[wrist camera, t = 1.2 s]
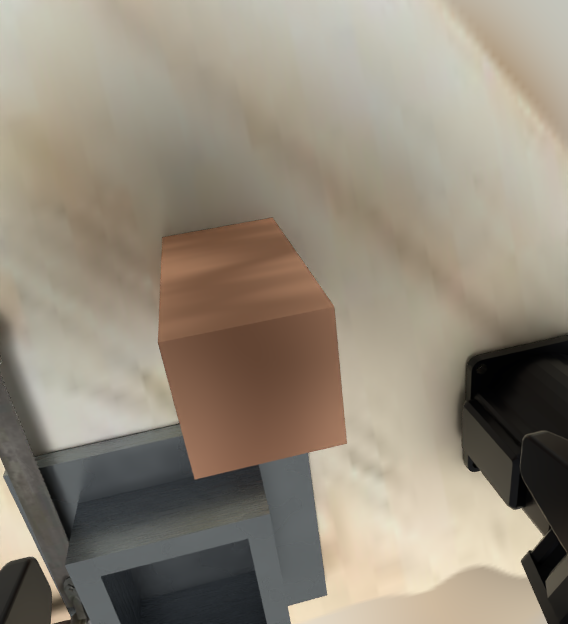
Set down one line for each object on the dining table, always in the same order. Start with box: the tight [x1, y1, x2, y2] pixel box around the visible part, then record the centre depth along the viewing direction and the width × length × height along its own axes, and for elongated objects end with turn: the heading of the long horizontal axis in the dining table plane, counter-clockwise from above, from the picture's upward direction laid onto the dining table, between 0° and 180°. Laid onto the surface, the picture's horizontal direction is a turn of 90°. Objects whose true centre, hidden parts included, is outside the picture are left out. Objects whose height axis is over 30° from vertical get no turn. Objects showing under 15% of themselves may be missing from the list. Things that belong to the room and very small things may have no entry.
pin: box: [158, 218, 347, 479], centre depth 16 cm, size 4×4×8 cm
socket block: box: [3, 424, 327, 624], centre depth 23 cm, size 12×12×4 cm
